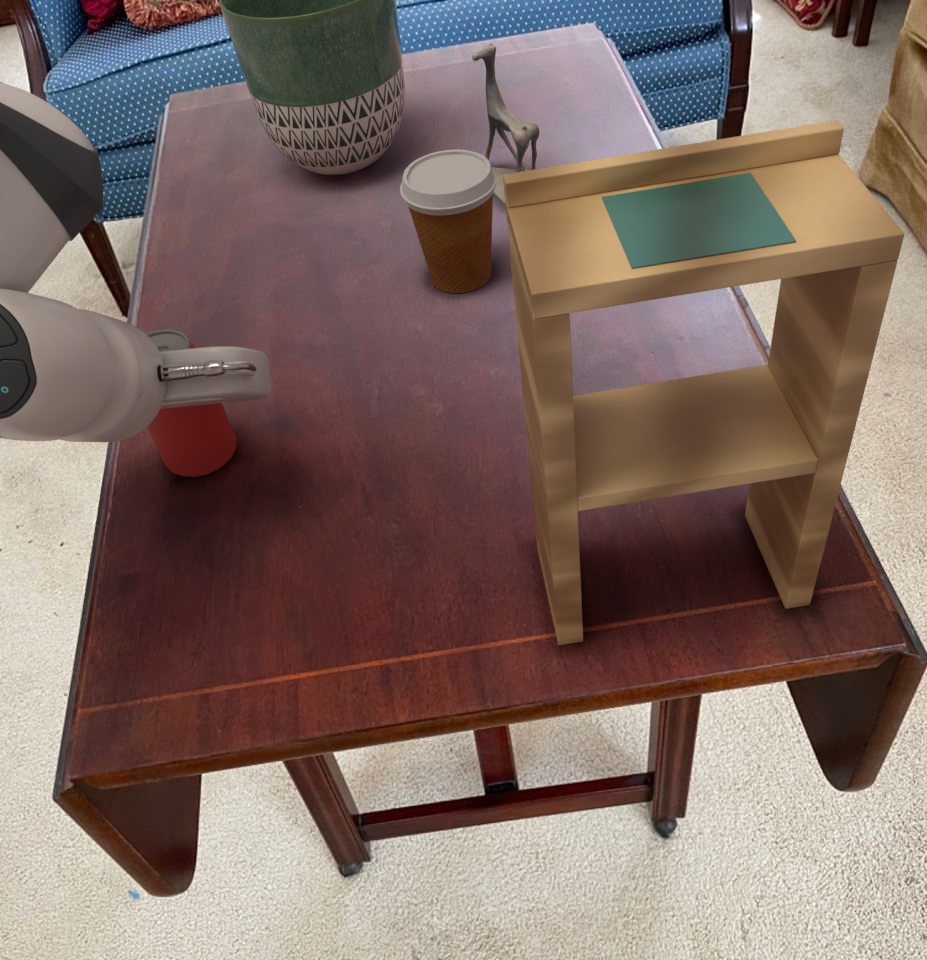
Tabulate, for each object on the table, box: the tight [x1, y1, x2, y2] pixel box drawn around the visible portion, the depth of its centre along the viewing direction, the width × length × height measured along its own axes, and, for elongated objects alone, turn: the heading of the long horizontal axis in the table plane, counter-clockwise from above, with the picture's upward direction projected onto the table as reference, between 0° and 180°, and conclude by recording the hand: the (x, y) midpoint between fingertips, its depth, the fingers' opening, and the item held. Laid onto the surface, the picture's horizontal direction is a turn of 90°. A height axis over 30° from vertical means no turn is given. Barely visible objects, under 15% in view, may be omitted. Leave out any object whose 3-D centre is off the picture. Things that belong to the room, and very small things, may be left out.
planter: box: [218, 0, 406, 176], centre depth 112 cm, size 20×20×21 cm
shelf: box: [503, 120, 905, 646], centre depth 58 cm, size 18×9×32 cm, turn 96°
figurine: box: [471, 43, 540, 207], centre depth 106 cm, size 11×6×15 cm, turn 15°
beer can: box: [145, 329, 237, 478], centre depth 80 cm, size 7×7×12 cm
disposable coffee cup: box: [399, 149, 497, 294], centre depth 95 cm, size 10×10×12 cm
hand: (171, 391), depth 79 cm, fingers open, 8 cm apart
